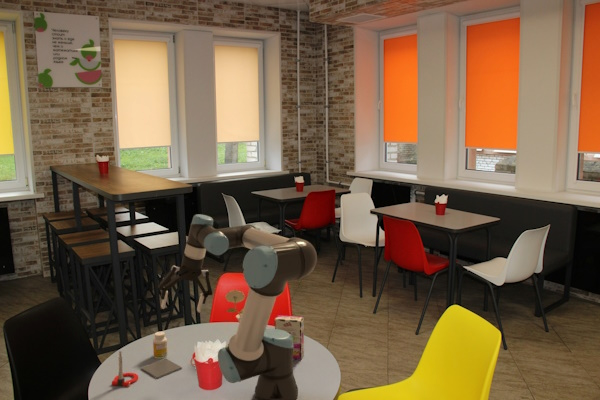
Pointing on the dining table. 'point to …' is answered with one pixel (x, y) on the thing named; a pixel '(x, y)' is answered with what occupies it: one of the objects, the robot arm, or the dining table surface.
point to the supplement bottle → (160, 345)
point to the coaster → (161, 368)
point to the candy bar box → (293, 332)
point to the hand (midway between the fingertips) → (180, 309)
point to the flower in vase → (235, 301)
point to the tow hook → (119, 379)
